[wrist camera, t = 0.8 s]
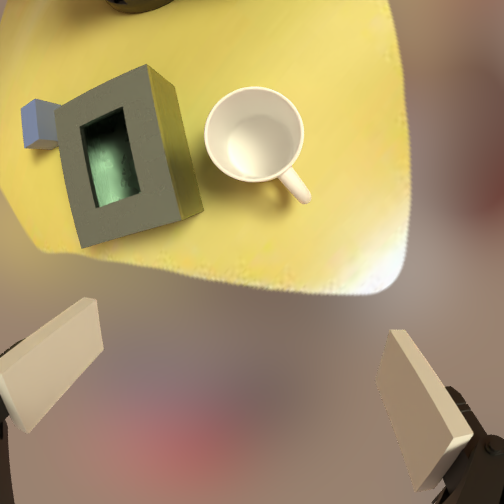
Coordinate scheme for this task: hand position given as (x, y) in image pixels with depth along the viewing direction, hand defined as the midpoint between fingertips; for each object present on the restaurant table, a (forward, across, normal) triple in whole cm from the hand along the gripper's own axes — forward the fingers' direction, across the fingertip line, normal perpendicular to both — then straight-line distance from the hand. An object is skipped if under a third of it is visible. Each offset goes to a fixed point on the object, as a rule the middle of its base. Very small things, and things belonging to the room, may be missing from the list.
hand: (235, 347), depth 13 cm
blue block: (+25, -31, +14) cm, 42 cm away
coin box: (+25, -15, +8) cm, 30 cm away
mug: (+25, 0, +9) cm, 26 cm away
